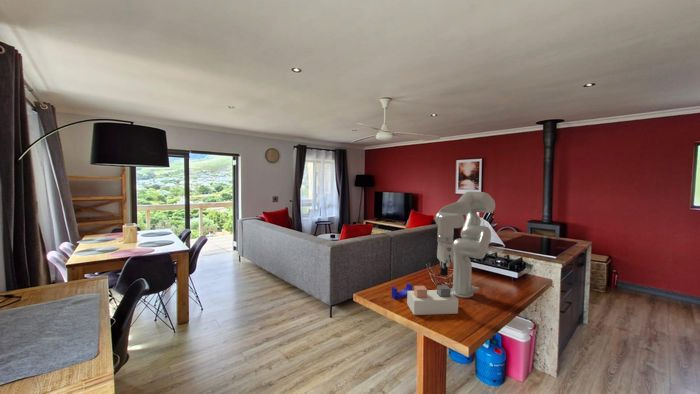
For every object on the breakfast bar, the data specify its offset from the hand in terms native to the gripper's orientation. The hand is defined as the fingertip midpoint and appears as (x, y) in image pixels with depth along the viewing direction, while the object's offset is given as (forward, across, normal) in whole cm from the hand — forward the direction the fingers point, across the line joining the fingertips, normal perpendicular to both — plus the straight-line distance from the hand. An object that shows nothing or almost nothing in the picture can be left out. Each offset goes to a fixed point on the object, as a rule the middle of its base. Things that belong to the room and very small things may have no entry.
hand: (443, 275), depth 144 cm
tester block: (+17, 0, +6) cm, 18 cm away
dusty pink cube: (+13, 0, +12) cm, 17 cm away
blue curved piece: (+18, +17, +17) cm, 30 cm away
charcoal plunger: (+13, 0, 0) cm, 13 cm away
